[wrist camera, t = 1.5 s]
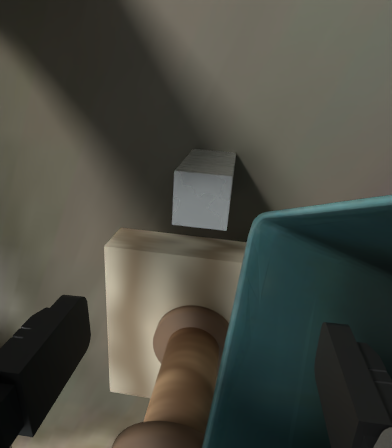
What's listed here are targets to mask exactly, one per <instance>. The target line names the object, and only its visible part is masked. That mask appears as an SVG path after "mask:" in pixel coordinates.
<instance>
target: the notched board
mask: <svg viewBox="0 0 392 448" xmlns="http://www.w3.org/2000/svg"><path fill="white" fill-rule="evenodd" d="M246 243H247V242H240V241H232V240H223V239H215V238H206V237H197V236H189V235H180V234H172V233H163V232H155V231H146V230H137V229H129V228H120V229H119V230H118V231H117V232H116V234H115V235H114V236H113V237H112V238H111V239H110V240H109V241H108V242H107V244H106V245H105V246H104V255H105V279H106V304H107V328H108V353H109V377H110V392H116V393H122V394H128V395H134V396H140V397H146V398H151V396H152V392H153V389H154V386H155V383H156V379H157V376H158V373H159V370H160V366H161V363H160V362H159V360H158V359H157V357H156V355H155V352H154V349H153V337H154V334H155V331H156V328H157V326H158V323H159V321H160V320H161V318H162V317H163V316H164V315H165V314H166V313H168V312H169V311H171V310H172V309H175V308H177V307H181V306H186V305H196V306H202V307H206V308H209V309H211V310H213V311H215V312H217V313H219V314H220V315H221V316H223V317H224V318H225V319H226V320H227V321H228V323H229V321H230V317H231V312H232V308H233V303H234V299H235V294H236V289H237V284H238V279H239V275H240V270H241V266H242V261H243V257H244V252H245V248H246ZM216 381H217V378H216Z"/></svg>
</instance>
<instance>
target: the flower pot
mask: <svg viewBox="0 0 392 448" xmlns="http://www.w3.org/2000/svg"><path fill="white" fill-rule="evenodd" d="M323 322H328V323H338V324H347V325H349V326H350V328H351V330H352V333H353V335H354V337H355V340H356V342H361V343H367V344H368V345H369V346H370V347H371V348H372V349H373V350H374V351H375V352H376V353H377V354H378V355H379V356H380V358H381V360H382V362H383V364H384V366H385V368H386V370H387V373H388V374H389V376H390V378H391V380H392V195H387V196H380V197H372V198H365V199H357V200H350V201H343V202H335V203H329V204H322V205H315V206H307V207H300V208H292V209H285V210H277V211H270V212H264V213H262V214H259V215H258V216H257V217H256V218H255V219H254V221H253V223H252V226H251V229H250V232H249V235H248V238H247V243H246V248H245V252H244V257H243V261H242V266H241V270H240V275H239V279H238V284H237V289H236V294H235V299H234V303H233V308H232V312H231V317H230V321H229V326H228V330H227V334H226V339H225V344H224V348H223V353H222V358H221V362H220V367H219V372H218V376H217V381H216V386H215V390H214V395H213V399H212V404H211V408H210V413H209V417H208V422H207V427H206V431H205V436H204V440H203V445H202V448H331V445H330V440H329V436H328V432H327V427H326V423H325V419H324V415H323V410H322V406H321V402H320V397H319V393H318V389H317V385H316V380H315V371H314V365H315V357H316V351H317V346H318V341H319V336H320V330H321V326H322V323H323Z"/></svg>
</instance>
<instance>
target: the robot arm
mask: <svg viewBox="0 0 392 448" xmlns="http://www.w3.org/2000/svg"><path fill="white" fill-rule="evenodd" d="M90 337H91V332H90V323H89V314H88V305H87V300H86V298H85V297H81V296H71V295H62V296H61V297H60V298H59V299H58V300H57V301H56V302H55V303H54V304H53V305H52V306H51V307H50V308H44V309H43V310H41V311H39V312H37V313H36V314H34V315H32V316H31V317H30V318H29V319H28V320H27V321H26V322H25V323H24V324H23V325H22V326H21V329H19V330H18V331H17V332H16V333H15V334H14V335H13V337H12V338H10V339H9V340H8V341H7V342H6V343H5V344H4V345H3V346H2V347H1V348H0V448H12V446H11V445H12V443H13V442H14V440H15V439H16V437H17V436H18V435H22V436H29V437H33V436H34V435H35V433H36V432H37V430H38V428H39V427H40V425H41V424H42V422H43V420H44V419H45V417H46V415H47V414H48V412H49V411H50V409H51V407H52V406H53V404H54V403H55V401H56V399H57V398H58V396H59V394H60V393H61V391H62V390H63V388H64V386H65V385H66V383H67V382H68V380H69V378H70V377H71V375H72V374H73V372H74V370H75V369H76V367H77V365H78V364H79V362H80V361H81V359H82V357H83V356H84V354H85V353H86V351H87V349H88V346H89V343H90ZM314 371H315V380H316V385H317V389H318V393H319V397H320V402H321V406H322V410H323V415H324V419H325V423H326V427H327V432H328V436H329V440H330V445H331V448H392V380H391V378H390V376H389V374H388V373H387V370H386V368H385V366H384V364H383V362H382V360H381V358H380V356H379V355H378V354H377V353H376V352H375V351H374V350H373V349H372V348H371V347H370V346H369V345H368V344H367V343H361V342H356V340H355V337H354V335H353V333H352V330H351V328H350V326H349V325H347V324H338V323H328V322H323V323H322V326H321V330H320V336H319V341H318V346H317V351H316V357H315V365H314Z"/></svg>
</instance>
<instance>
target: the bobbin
mask: <svg viewBox="0 0 392 448" xmlns="http://www.w3.org/2000/svg"><path fill="white" fill-rule="evenodd" d="M228 326H229V323H228V321H227V320H226V319H225V318H224V317H223V316H221V315H220V314H219V313H217V312H215V311H213V310H211V309H209V308H206V307H202V306H196V305H186V306H181V307H177V308H175V309H172V310H171V311H169V312H168V313H166V314H165V315H164V316H163V317H162V318H161V320H160V321H159V323H158V326H157V328H156V331H155V334H154V337H153V349H154V352H155V355H156V357H157V359H158V360H159V362H160V363H161V366H160V370H159V373H158V376H157V379H156V383H155V386H154V389H153V392H152V396H151V399H150V402H149V405H148V409H147V412H146V415H145V418H144V422H141V423H138V424H134V425H132V426H130V427H128V428H126V429H125V430H123V431H122V432H121V433H120V434H119V435H118V436H117V438H116V439H115V441H114V444H113V446H112V448H202V445H203V440H204V436H205V431H206V427H207V422H208V417H209V413H210V408H211V404H212V399H213V395H214V390H215V386H216V378H217V376H218V372H219V367H220V362H221V358H222V353H223V348H224V344H225V339H226V334H227V330H228Z"/></svg>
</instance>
